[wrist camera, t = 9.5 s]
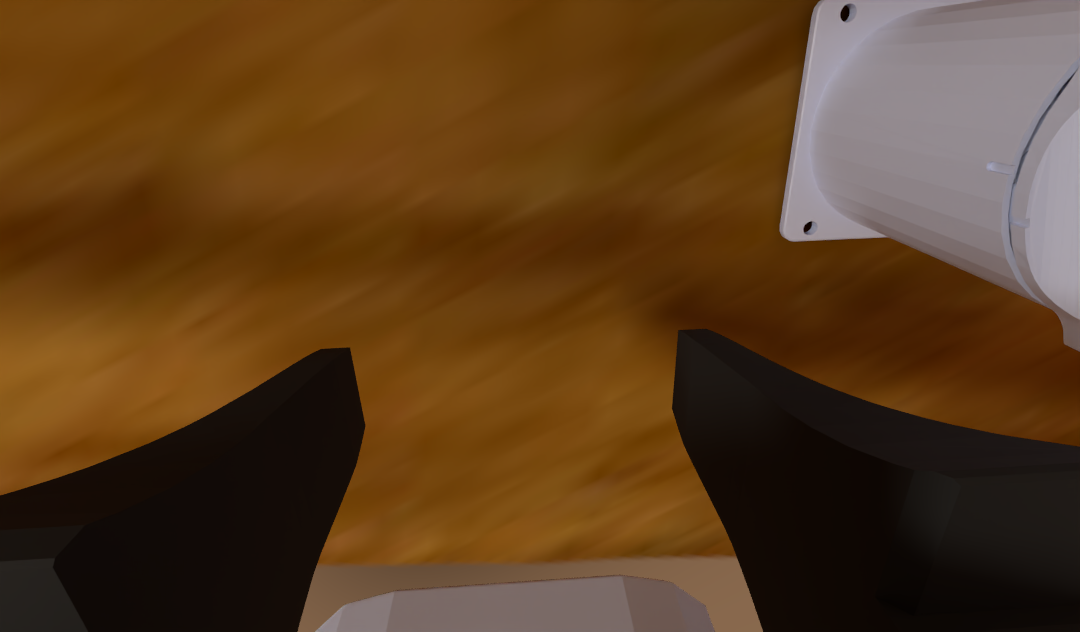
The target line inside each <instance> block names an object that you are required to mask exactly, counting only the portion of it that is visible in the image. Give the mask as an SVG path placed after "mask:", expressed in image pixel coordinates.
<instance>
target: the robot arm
mask: <svg viewBox="0 0 1080 632" xmlns="http://www.w3.org/2000/svg"><path fill="white" fill-rule="evenodd" d="M845 5H846V6H848V8H849V11H850V14H849V17H848V19H847V20H846V21H845V22H843V21H842V20H841V18H840V12H841V10H842V8H843V7H844V6H845ZM810 221H812V227H811V229H810V230H809V231H807V232H804V230H803V228H804V226H805V224H807V223H808V222H810ZM780 233H781V235H782V236H783V237H784V238H786V239H787V240H789V241H794V242H796V241H817V240H838V239H860V238H881V237H890V238H892V239H894V240H896V241H899V242H901V243H903V244H905V245H908V246H910V247H912V248H914V249H917V250H919V251H921V252H923V253H926V254H928V255H930V256H932V257H935V258H937V259H939V260H941V261H944V262H946V263H948V264H950V265H953V266H955V267H957V268H959V269H962V270H964V271H966V272H968V273H971V274H973V275H975V276H977V277H980V278H982V279H984V280H986V281H989V282H991V283H993V284H995V285H998V286H1000V287H1002V288H1004V289H1007V290H1009V291H1011V292H1013V293H1016V294H1018V295H1020V296H1022V297H1025V298H1027V299H1029V300H1031V301H1034V302H1036V303H1038V304H1040V305H1043V306H1045V307H1047V308H1049V309H1052V310H1053V311H1054V312H1055V313H1056V314H1057V315H1058V317H1059V319H1060V321H1061V324H1062V327H1063V341H1064V344H1065V345H1067V346H1069V347H1071V348H1073V349H1075V350H1077V351H1079V352H1080V0H821V1H819V2H818V4H817V5H816V6H815V8H814V10H813V13H812V18H811V25H810V31H809V38H808V44H807V51H806V58H805V64H804V71H803V77H802V84H801V90H800V97H799V103H798V110H797V117H796V123H795V130H794V136H793V143H792V149H791V156H790V162H789V169H788V176H787V182H786V189H785V195H784V202H783V208H782V215H781V221H780ZM672 410H673V413H674V416H675V419H676V423H677V426H678V429H679V432H680V435H681V438H682V441H683V444H684V446H685V448H686V451H687V453H688V455H689V457H690V459H691V461H692V463H693V465H694V467H695V469H696V471H697V473H698V475H699V477H700V479H701V481H702V483H703V485H704V487H705V489H706V491H707V493H708V495H709V497H710V499H711V501H712V503H713V505H714V507H715V509H716V511H717V513H718V515H719V517H720V519H721V521H722V523H723V525H724V527H725V530H726V532H727V534H728V536H729V539H730V541H731V543H732V545H733V548H734V550H735V553H736V556H737V559H738V561H739V564H740V567H741V569H742V572H743V575H744V577H745V580H746V583H747V586H748V588H749V591H750V594H751V597H752V600H753V603H754V606H755V609H756V612H757V614H758V618H759V620H760V623H761V626H762V629H763V632H1080V447H1077V446H1071V445H1064V444H1058V443H1051V442H1044V441H1038V440H1031V439H1024V438H1018V437H1011V436H1005V435H1000V434H994V433H989V432H985V431H980V430H975V429H970V428H965V427H960V426H956V425H951V424H947V423H943V422H939V421H935V420H930V419H926V418H923V417H919V416H915V415H912V414H908V413H905V412H901V411H898V410H894V409H890V408H887V407H884V406H881V405H878V404H874V403H871V402H868V401H865V400H862V399H860V398H857V397H854V396H851V395H849V394H846V393H843V392H840V391H838V390H835V389H832V388H830V387H827V386H825V385H822V384H820V383H818V382H815V381H813V380H811V379H809V378H806V377H804V376H802V375H800V374H797V373H795V372H793V371H791V370H789V369H787V368H785V367H783V366H780V365H778V364H776V363H774V362H772V361H770V360H768V359H766V358H765V357H763V356H761V355H759V354H757V353H755V352H753V351H751V350H749V349H747V348H745V347H743V346H741V345H739V344H738V343H736V342H734V341H732V340H730V339H728V338H726V337H724V336H722V335H720V334H718V333H715V332H713V331H710V330H708V329H694V330H678V342H677V355H676V367H675V379H674V392H673V404H672ZM364 430H365V422H364V417H363V412H362V407H361V402H360V397H359V391H358V386H357V381H356V376H355V371H354V366H353V361H352V356H351V351H350V348H331V349H320V350H318V351H316V352H314V353H312V354H310V355H308V356H306V357H305V358H303V359H301V360H300V361H298V362H296V363H295V364H293V365H291V366H290V367H288V368H287V369H285V370H283V371H282V372H280V373H279V374H277V375H275V376H274V377H272V378H271V379H269V380H267V381H266V382H264V383H262V384H261V385H259V386H258V387H256V388H254V389H253V390H251V391H249V392H248V393H246V394H244V395H242V396H241V397H239V398H237V399H235V400H234V401H232V402H230V403H228V404H227V405H225V406H223V407H221V408H220V409H218V410H216V411H214V412H213V413H211V414H209V415H207V416H205V417H203V418H201V419H199V420H197V421H196V422H194V423H192V424H190V425H188V426H186V427H183V428H181V429H179V430H177V431H175V432H173V433H171V434H168V435H166V436H164V437H162V438H160V439H158V440H155V441H153V442H151V443H149V444H146V445H144V446H141V447H139V448H136V449H134V450H131V451H129V452H126V453H124V454H121V455H118V456H116V457H113V458H111V459H108V460H106V461H103V462H101V463H98V464H96V465H93V466H90V467H88V468H85V469H82V470H79V471H76V472H73V473H70V474H67V475H65V476H62V477H59V478H56V479H53V480H50V481H46V482H43V483H40V484H37V485H34V486H30V487H27V488H24V489H21V490H18V491H14V492H11V493H7V494H4V495H1V496H0V632H297V631H298V627H299V623H300V619H301V616H302V613H303V609H304V605H305V602H306V598H307V595H308V591H309V588H310V584H311V581H312V577H313V574H314V571H315V568H316V565H317V563H318V560H319V557H320V554H321V552H322V549H323V547H324V544H325V542H326V539H327V537H328V534H329V532H330V529H331V527H332V524H333V522H334V520H335V517H336V515H337V512H338V510H339V507H340V505H341V502H342V500H343V497H344V495H345V492H346V490H347V487H348V485H349V482H350V480H351V477H352V475H353V472H354V469H355V467H356V464H357V460H358V456H359V452H360V448H361V443H362V439H363V434H364ZM315 632H715V631H714V628H713V625H712V623H711V620H710V617H709V614H708V612H707V609H706V606H705V605H704V604H702V603H701V602H699V601H698V600H697V599H695V598H694V597H692V596H691V595H689V594H688V593H687V592H685V591H684V590H682V589H681V588H679V587H678V586H676V585H675V584H674V583H672V582H668V581H664V580H656V579H649V578H641V577H633V576H625V575H610V576H595V577H582V578H581V577H580V578H566V579H551V580H537V581H524V582H523V581H522V582H508V583H493V584H478V585H464V586H449V587H434V588H419V589H405V590H396V591H392V592H388V593H385V594H381V595H377V596H373V597H369V598H366V599H362V600H358V601H354V602H351V603H349V604H346V605H344V606H343V607H341V608H340V609H339V610H338V611H337V612H336V613H335V614H334V615H333V616H332V617H331V618H329V619H328V620H327V621H326V622H325V623H324V624H323V625H322V626H321V627H320V628H319V629H317V631H315Z"/></svg>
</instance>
